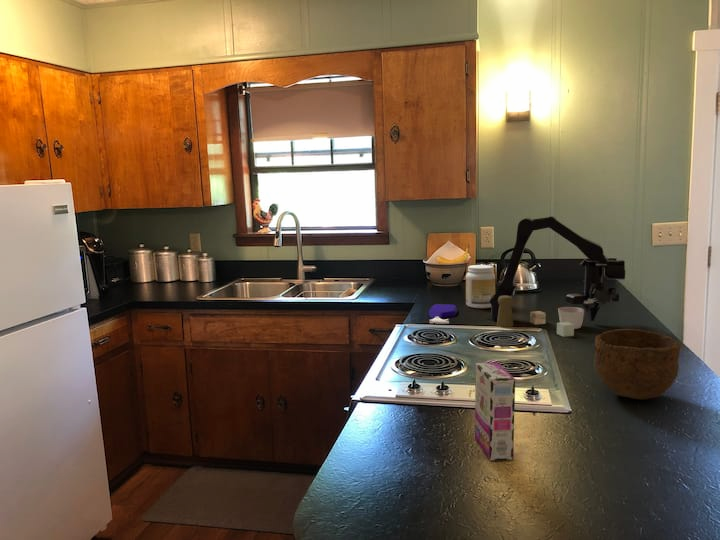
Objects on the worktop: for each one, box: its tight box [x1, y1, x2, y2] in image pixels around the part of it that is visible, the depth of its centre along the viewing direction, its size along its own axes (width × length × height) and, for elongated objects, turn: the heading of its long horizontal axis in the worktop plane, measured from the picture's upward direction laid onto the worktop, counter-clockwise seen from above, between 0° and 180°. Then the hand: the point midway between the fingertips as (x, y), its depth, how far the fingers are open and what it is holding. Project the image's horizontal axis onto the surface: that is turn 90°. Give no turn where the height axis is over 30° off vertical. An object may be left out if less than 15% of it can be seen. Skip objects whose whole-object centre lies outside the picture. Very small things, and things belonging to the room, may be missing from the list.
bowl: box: [593, 328, 682, 401], centre depth 144 cm, size 19×19×15 cm
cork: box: [496, 295, 514, 328], centre depth 217 cm, size 6×6×11 cm
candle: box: [557, 306, 586, 330], centre depth 213 cm, size 9×9×6 cm
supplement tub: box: [465, 264, 496, 309], centre depth 251 cm, size 12×12×17 cm
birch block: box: [529, 310, 547, 326], centre depth 220 cm, size 4×4×4 cm
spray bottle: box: [428, 303, 458, 325], centre depth 233 cm, size 3×11×24 cm
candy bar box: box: [474, 361, 516, 462], centre depth 118 cm, size 11×5×16 cm, turn 5°
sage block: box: [556, 321, 575, 337], centre depth 203 cm, size 4×4×4 cm
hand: (591, 321), depth 215 cm, fingers closed
